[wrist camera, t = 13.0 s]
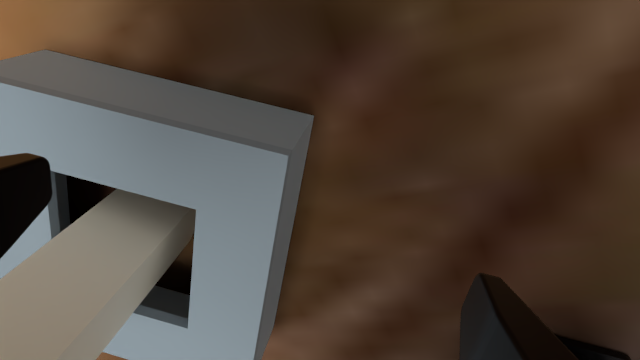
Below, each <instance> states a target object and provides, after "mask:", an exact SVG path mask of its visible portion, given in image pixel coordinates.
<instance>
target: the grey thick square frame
mask: <svg viewBox="0 0 640 360" xmlns="http://www.w3.org/2000/svg"><path fill="white" fill-rule="evenodd" d="M313 119H314V116H313V115H309V114H305V113H301V112H297V111H293V110H289V109H285V108H281V107H277V106H273V105H269V104H264V103H260V102H256V101H252V100H248V99H244V98H240V97H236V96H232V95H228V94H224V93H220V92H216V91H212V90H208V89H203V88H199V87H195V86H191V85H187V84H183V83H179V82H175V81H171V80H167V79H163V78H159V77H155V76H151V75H146V74H142V73H138V72H134V71H130V70H126V69H122V68H118V67H114V66H110V65H106V64H102V63H98V62H94V61H90V60H85V59H81V58H77V57H73V56H69V55H65V54H61V53H57V52H53V51H49V50H41V51H37V52H33V53H29V54H25V55H21V56H17V57H13V58H9V59H5V60H1V61H0V156H6V155H14V154H21V153H30V154H34V155H38V156H42V157H45V158H46V159H47V160H48V161H49V163H50V170H51V179H52V189H53V194H52V198H51V201H50V202H49V204H48V205H47V206H46V207H45V209H44V210H43V211H42V212H41V213H40V214H39V216H38V217H37V218H36V219H35V220H34V221H33V222H32V224H31V225H30V226H29V227H28V228H27V229H26V231H25V232H24V233H23V234H22V235H21V236H20V238H19V239H18V240H17V241H16V242H15V243H14V244H13V246H12V247H11V248H10V249H9V250H8V251H7V252H6V253H5V255H4V256H3V257H2V258H1V259H0V279H1V278H2V277H4V276H5V275H6V274H8V273H9V272H10V271H11V270H13V269H14V268H15V267H17V266H18V265H19V264H20V263H22V262H23V261H24V260H26V259H27V258H28V257H29V256H31V255H32V254H33V253H35V252H36V251H37V250H38V249H40V248H41V247H42V246H44V245H45V244H46V243H48V242H49V241H50V240H51V239H53V238H54V237H55V236H57V235H58V234H59V233H60V232H62V231H63V230H64V229H66V228H67V227H68V226H69V225H70V214H69V202H68V190H67V178H66V175H69V176H73V177H76V178H80V179H84V180H87V181H91V182H95V183H99V184H102V185H106V186H110V187H113V188H117V189H121V190H125V191H128V192H132V193H136V194H140V195H143V196H147V197H151V198H154V199H158V200H162V201H166V202H169V203H173V204H177V205H181V206H184V207H188V208H192V209H195V210H196V219H195V233H194V247H193V261H192V275H191V289H190V295H187V294H183V293H180V292H176V291H173V290H169V289H166V288H162V287H159V286H154V287H153V288H152V289H151V291H150V292H149V293H148V294H147V296H146V297H145V298H144V299H143V301H142V302H141V303H140V305H139V306H138V307H137V308H136V310H135V311H134V312H133V313H132V315H131V316H130V317H129V318H128V320H127V321H126V322H125V323H124V325H123V326H122V327H121V328H120V330H119V331H118V332H117V334H116V335H115V336H114V337H113V339H112V340H111V341H110V342H109V344H108V345H107V346H106V347H105V349H104V350H103V351H102V352H105V353H109V354H112V355H115V356H119V357H122V358H125V359H129V360H261V358H262V356H263V353H264V351H265V348H266V345H267V343H268V340H269V337H270V335H271V332H272V330H273V327H274V322H275V317H276V312H277V307H278V301H279V296H280V291H281V286H282V281H283V275H284V270H285V265H286V260H287V255H288V249H289V244H290V239H291V234H292V229H293V223H294V218H295V213H296V208H297V203H298V197H299V192H300V187H301V182H302V177H303V171H304V166H305V161H306V156H307V151H308V145H309V140H310V135H311V130H312V125H313Z"/></svg>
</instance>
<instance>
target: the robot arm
mask: <svg viewBox="0 0 640 360" xmlns="http://www.w3.org/2000/svg"><path fill="white" fill-rule="evenodd" d="M52 194H53V189H52V179H51V170H50V163H49V161H48V160H47V159H46V158H45V157H42V156H38V155H34V154H30V153H21V154H14V155H6V156H0V259H1V258H2V257H3V256H4V255H5V253H6V252H7V251H8V250H9V249H10V248H11V247H12V246H13V244H14V243H15V242H16V241H17V240H18V239H19V238H20V236H21V235H22V234H23V233H24V232H25V231H26V229H27V228H28V227H29V226H30V225H31V224H32V222H33V221H34V220H35V219H36V218H37V217H38V216H39V214H40V213H41V212H42V211H43V210H44V209H45V207H46V206H47V205H48V204H49V202H50V201H51V198H52ZM460 360H631V359H630V357H629V356H626V355H624V354H620V353H616V352H613V351H609V350H605V349H602V348H598V347H594V346H591V345H587V344H583V343H580V342H576V341H572V340H569V339H565V338H561V337H558V336H555V335H554V334H553V332H552V331H551V330H550V329H549V328H548V327H547V326H546V325H545V324H544V323H543V322H542V321H541V320H540V319H539V318H538V317H537V316H536V315H535V314H534V313H533V312H532V311H531V309H530V308H529V307H528V306H527V305H526V304H525V303H524V302H523V301H522V300H521V299H520V298H519V297H518V296H517V295H516V294H515V293H514V292H513V291H512V290H511V289H510V287H509V286H508V285H507V284H506V283H505V282H504V281H503V280H502V279H501V278H499V277H496V276H492V275H488V274H484V273H479V274H477V275H476V277H475V278H474V281H473V283H472V285H471V287H470V290H469V292H468V294H467V296H466V299H465V301H464V303H463V306H462V310H461V322H460Z"/></svg>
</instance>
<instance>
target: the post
mask: <svg viewBox="0 0 640 360" xmlns="http://www.w3.org/2000/svg"><path fill="white" fill-rule="evenodd" d="M195 219H196V210H195V209H192V208H188V207H184V206H181V205H177V204H173V203H169V202H166V201H162V200H158V199H154V198H151V197H147V196H143V195H140V194H136V193H132V192H128V191H125V190H121V189H116V190H115V191H113V192H112V193H111V194H109V195H108V196H107V197H106V198H104V199H103V200H102V201H100V202H99V203H98V204H97V205H95V206H94V207H93V208H91V209H90V210H89V211H88V212H86V213H85V214H84V215H82V216H81V217H80V218H78V219H77V220H76V221H75V222H73V223H72V224H71V225H69V226H68V227H67V228H66V229H64V230H63V231H62V232H60V233H59V234H58V235H57V236H55V237H54V238H53V239H51V240H50V241H49V242H48V243H46V244H45V245H44V246H42V247H41V248H40V249H38V250H37V251H36V252H35V253H33V254H32V255H31V256H29V257H28V258H27V259H26V260H24V261H23V262H22V263H20V264H19V265H18V266H17V267H15V268H14V269H13V270H11V271H10V272H9V273H8V274H6V275H5V276H4V277H2V278H1V279H0V360H96V359H97V358H98V356H99V355H100V354H101V352H102V351H103V350H104V349H105V347H106V346H107V345H108V344H109V342H110V341H111V340H112V339H113V337H114V336H115V335H116V334H117V332H118V331H119V330H120V328H121V327H122V326H123V325H124V323H125V322H126V321H127V320H128V318H129V317H130V316H131V315H132V313H133V312H134V311H135V310H136V308H137V307H138V306H139V305H140V303H141V302H142V301H143V299H144V298H145V297H146V296H147V294H148V293H149V292H150V291H151V289H152V288H153V287H154V286H155V284H156V283H157V282H158V281H159V279H160V278H161V277H162V275H163V274H164V273H165V272H166V270H167V269H168V268H169V267H170V265H171V264H172V263H173V262H174V260H175V259H176V258H177V257H178V255H179V254H180V253H181V252H182V250H183V249H184V248H185V246H186V245H187V244H188V243H189V241H190V240H191V238H192V235H193V232H194V229H195Z"/></svg>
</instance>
